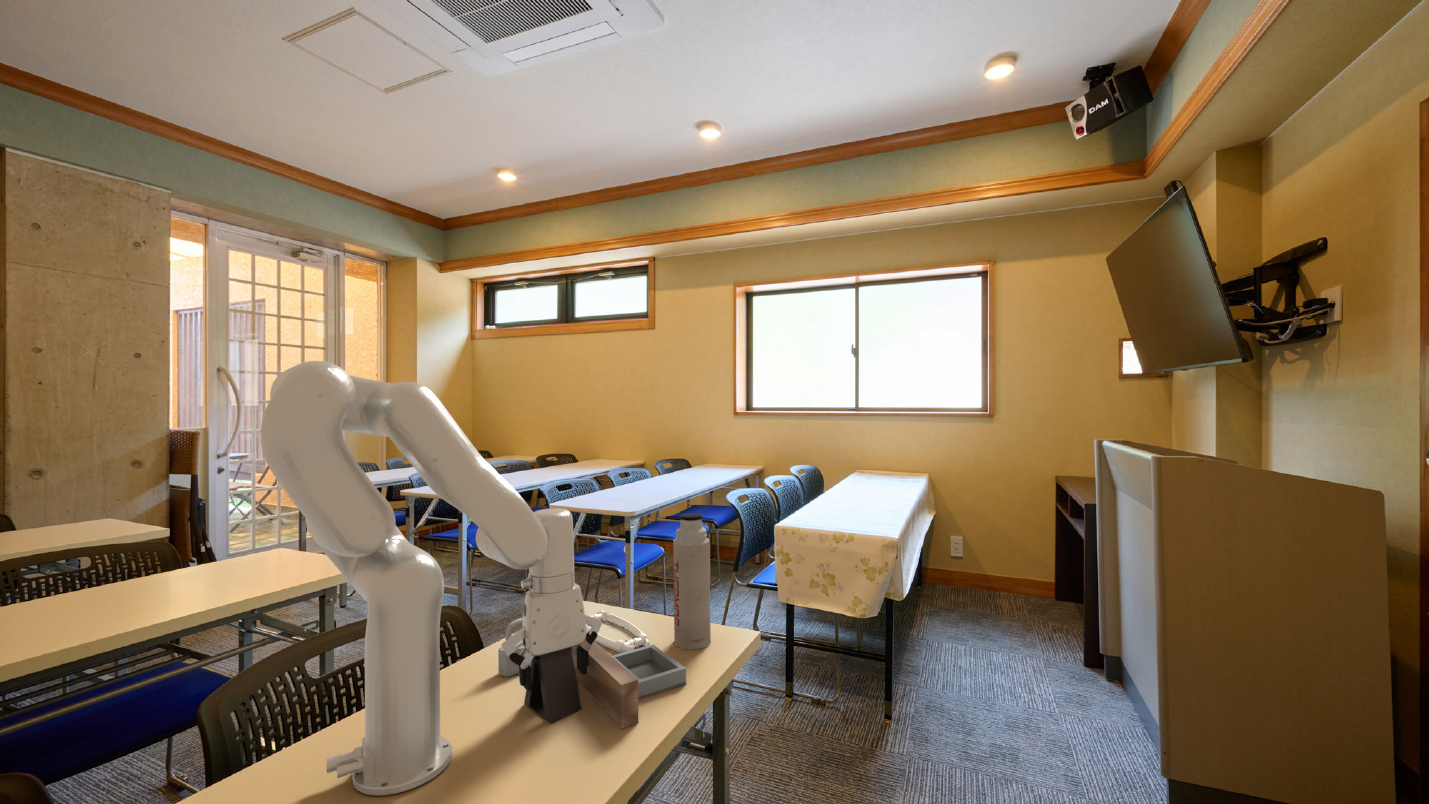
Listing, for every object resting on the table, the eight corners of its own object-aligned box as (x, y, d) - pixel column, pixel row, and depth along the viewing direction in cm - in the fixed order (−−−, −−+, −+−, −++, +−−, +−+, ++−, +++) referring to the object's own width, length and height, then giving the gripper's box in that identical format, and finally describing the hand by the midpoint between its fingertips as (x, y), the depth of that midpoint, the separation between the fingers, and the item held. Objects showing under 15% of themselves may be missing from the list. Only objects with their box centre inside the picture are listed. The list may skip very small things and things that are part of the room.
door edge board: (621, 728, 91) (621, 684, 91) (566, 667, 113) (566, 632, 113) (639, 722, 93) (639, 679, 93) (582, 663, 114) (581, 628, 115)
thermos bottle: (675, 650, 120) (673, 518, 120) (673, 635, 128) (672, 511, 128) (712, 648, 121) (710, 517, 121) (708, 633, 129) (707, 510, 129)
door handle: (620, 662, 116) (568, 625, 136) (660, 649, 122) (605, 616, 142) (620, 649, 116) (568, 614, 136) (660, 636, 122) (605, 605, 142)
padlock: (529, 660, 116) (528, 611, 116) (540, 666, 114) (539, 616, 114) (496, 673, 111) (496, 621, 111) (507, 679, 108) (506, 626, 108)
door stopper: (524, 704, 99) (523, 635, 99) (555, 691, 103) (554, 625, 103) (550, 724, 93) (549, 650, 93) (581, 710, 97) (581, 639, 97)
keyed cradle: (637, 700, 100) (637, 683, 100) (607, 672, 111) (607, 656, 111) (686, 684, 105) (685, 668, 105) (653, 659, 116) (653, 644, 116)
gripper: (506, 598, 90) (509, 705, 90) (607, 576, 100) (610, 673, 100) (495, 586, 97) (498, 686, 97) (591, 566, 106) (594, 657, 106)
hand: (555, 679), depth 98 cm, fingers open, 9 cm apart
